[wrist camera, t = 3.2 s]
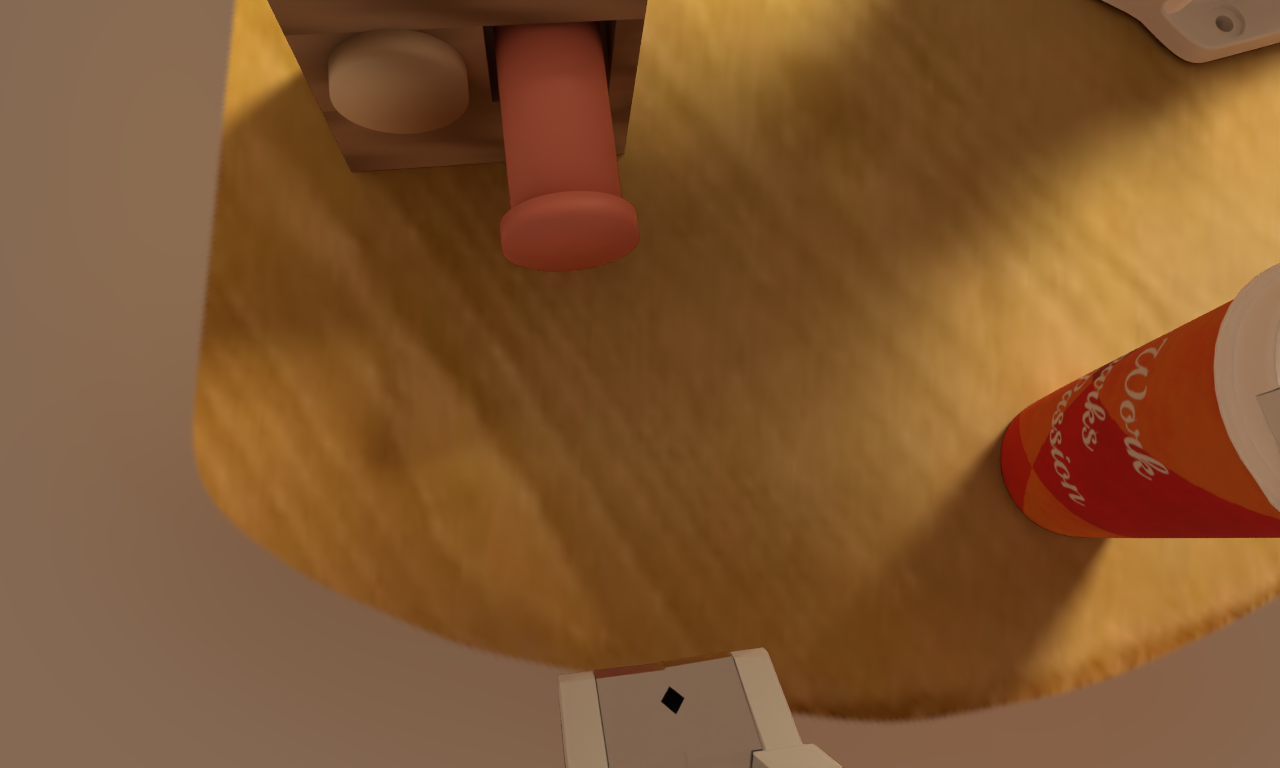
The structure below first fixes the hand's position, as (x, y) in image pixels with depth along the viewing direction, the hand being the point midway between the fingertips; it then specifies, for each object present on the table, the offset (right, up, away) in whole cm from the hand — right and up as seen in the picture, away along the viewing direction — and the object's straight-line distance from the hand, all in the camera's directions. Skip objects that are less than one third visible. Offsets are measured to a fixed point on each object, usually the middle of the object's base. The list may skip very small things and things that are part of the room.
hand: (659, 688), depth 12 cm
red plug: (-3, +13, +18) cm, 23 cm away
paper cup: (+17, +1, +22) cm, 27 cm away
